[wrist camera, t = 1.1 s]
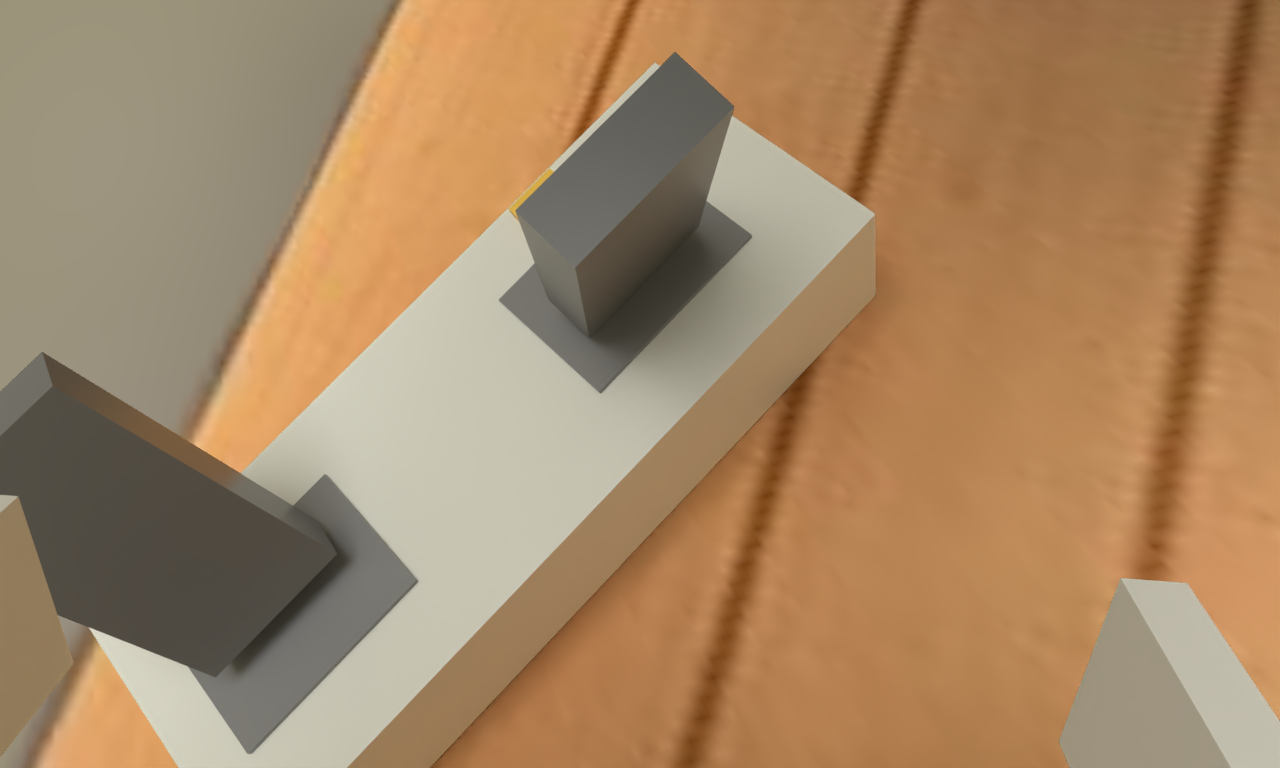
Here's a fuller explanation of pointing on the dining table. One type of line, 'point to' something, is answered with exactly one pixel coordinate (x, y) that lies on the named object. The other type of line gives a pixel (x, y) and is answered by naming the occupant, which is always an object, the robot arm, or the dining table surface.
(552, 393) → the switch box
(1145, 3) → the dining table surface
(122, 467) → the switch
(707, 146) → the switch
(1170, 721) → the robot arm
